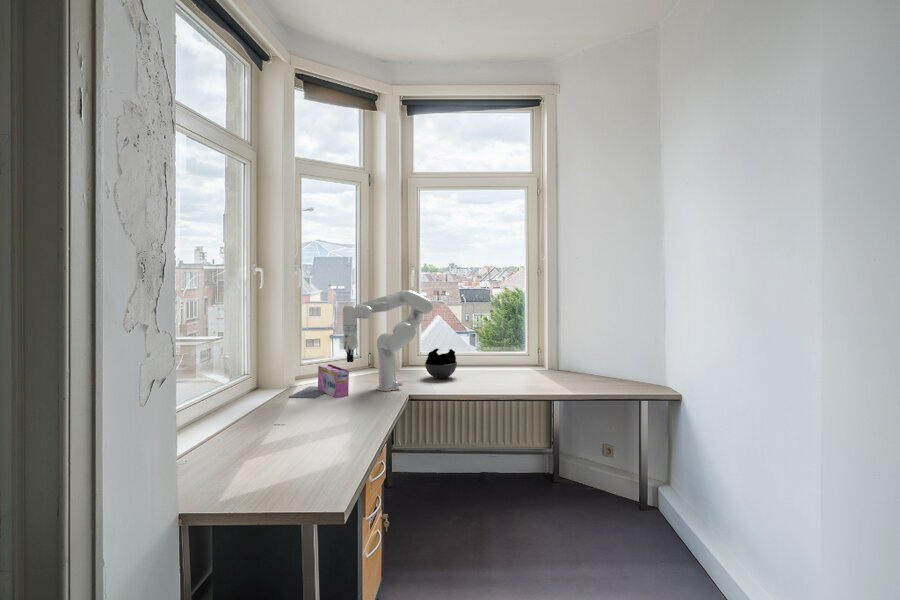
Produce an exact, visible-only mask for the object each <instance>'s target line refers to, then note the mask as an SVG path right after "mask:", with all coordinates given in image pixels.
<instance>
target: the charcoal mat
mask: <svg viewBox="0 0 900 600" xmlns="http://www.w3.org/2000/svg"><path fill="white" fill-rule="evenodd" d="M324 394H326V393H325V392H323V391H321V390H319V389H318V386H313V385H312V386H308V387H306V388H303V389H302V390H299V391H297V392H295V393H293V394H291V395H289V396H288V398H289V399H290V398H291V399H317V398H318V397H321V396H322V395H324ZM320 395H321V396H320Z"/></svg>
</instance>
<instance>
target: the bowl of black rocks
mask: <svg viewBox="0 0 900 600" xmlns="http://www.w3.org/2000/svg"><path fill="white" fill-rule="evenodd" d="M439 350H440V348H434V349H433V350H431V351H429V352H428V353H427V358H426V360H425V362H424V367H425V369H426V372H427V373H428V374H429V376H431V377H433V378H434V379H435V378H436V379H440V380H442V379H447V378H449V377H450V376H452V375H453V374H454V373H455V372H456V369H457V366H458V361H457V356H456V354H455V353H456V351H455V350H453V349H452V348H450V349H448V352H446V353H440V354H438V353H437V352H438V351H439Z"/></svg>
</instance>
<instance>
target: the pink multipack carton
mask: <svg viewBox="0 0 900 600" xmlns="http://www.w3.org/2000/svg"><path fill="white" fill-rule="evenodd" d="M317 366H318V368H317V369H318V370H317V387H318V389H319V390H321V391H323V392H325V393H324V394H328V395H330V396H331V397H334V398H340V397H346V396H347V395H348V396H349V379H350V373H349V370H347V369H345V368H342V367H338V366H336V365H333V364H330V363H329V364H327V365H320V364H319V365H317ZM348 396H347V397H348Z"/></svg>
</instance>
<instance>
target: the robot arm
mask: <svg viewBox="0 0 900 600" xmlns="http://www.w3.org/2000/svg"><path fill="white" fill-rule="evenodd" d="M403 306H409V307H410V312H409V314H408V315H407V316H406V317H405V318H404V319H402V320H401V321H400V322H398V323H397V324H396V325H395V326H394V327H393V329H392V333H387V332H386V333H381V334H380V335H378V337H377V340H376V349H377V354H378V385H376V390H377V391H380V392H381V391H383V392H391V390H392V391H395V390H398V389H399V387H403V386H404V383H403V382H399V381H398V379H396V377H397V375H396V369H397V368H396V352H398V351H400V350H401V349H402V348H403V347H405V346H406V345H407V344H409V343H410V342H411V341H412V340H413V339H414V338H415V336H416V335H417V334H416V333H417V332H416V331H417V330H416V329H417V328H419V326H420V325H421V323H422V322H423V317H424V315H427V314H429V313H431V312H432V310H433V307H434V306H433V302H432V301H431V299H428V298H426V297H425V296H423V295H421V294H419V293H417V292H415V291H413V290H408V289H403V290H399V291H395V292H393V293H390V294H387V295H384V296H381V297H378V298H375V299H371V300H366V301H363V302H360V303H359V304H356V305H344V306H343V307H342V332H343V338H342V339H343V341H342V342H343V343H342V344H343V349H344V350H345V353H346V362H347V363H353V362H354V357H355V356H354V354H355V349H358V347H359V343H358V319H362V320H366V319H369V318H371V316H372V314H376V313H382V312H383V313H384V312H388V311H392V310H394V309H397V308H399V307H403Z"/></svg>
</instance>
